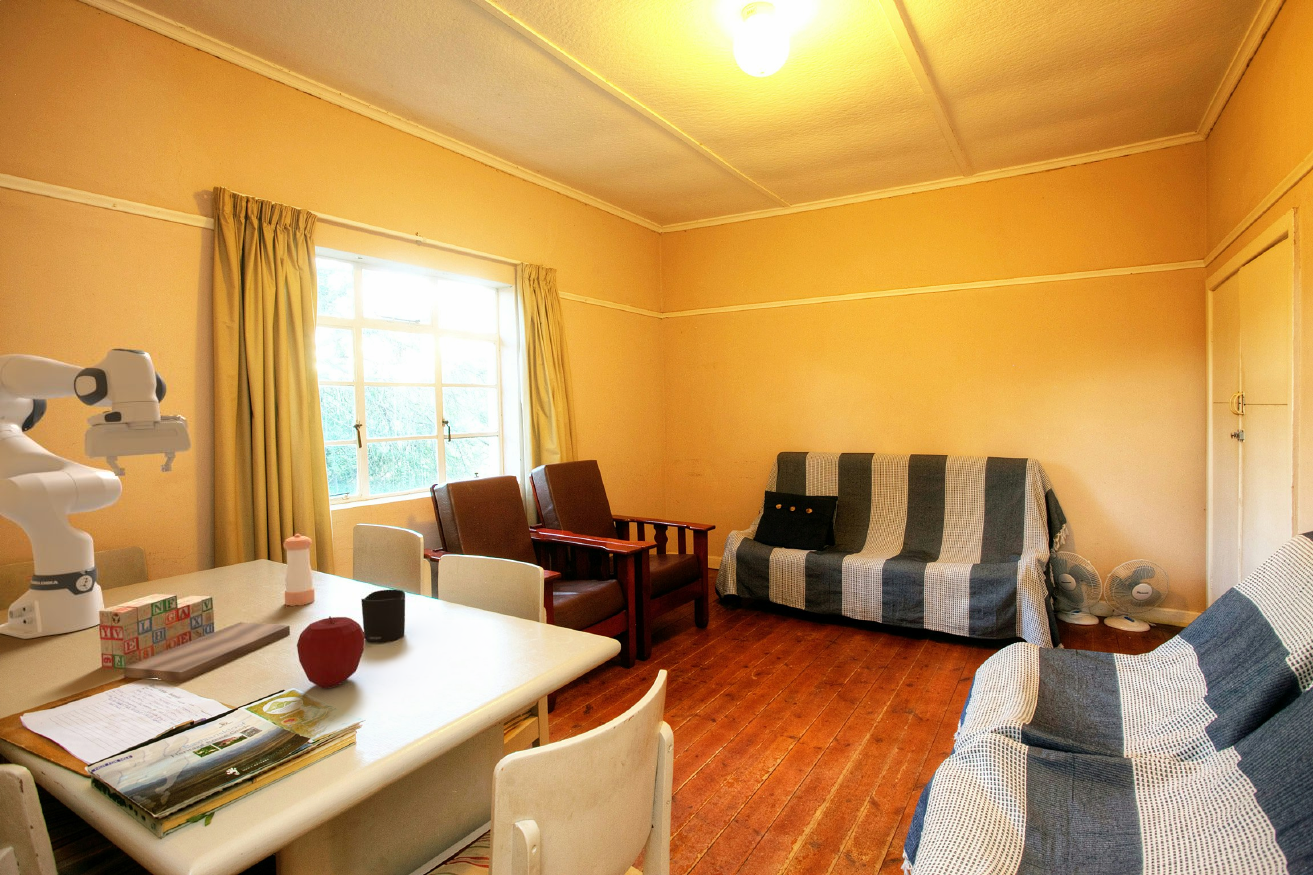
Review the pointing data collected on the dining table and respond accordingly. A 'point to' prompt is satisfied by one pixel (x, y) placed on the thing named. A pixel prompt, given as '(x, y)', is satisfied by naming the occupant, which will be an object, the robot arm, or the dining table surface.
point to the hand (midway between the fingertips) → (143, 473)
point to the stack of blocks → (152, 627)
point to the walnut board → (206, 652)
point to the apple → (331, 650)
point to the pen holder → (384, 616)
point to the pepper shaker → (298, 571)
